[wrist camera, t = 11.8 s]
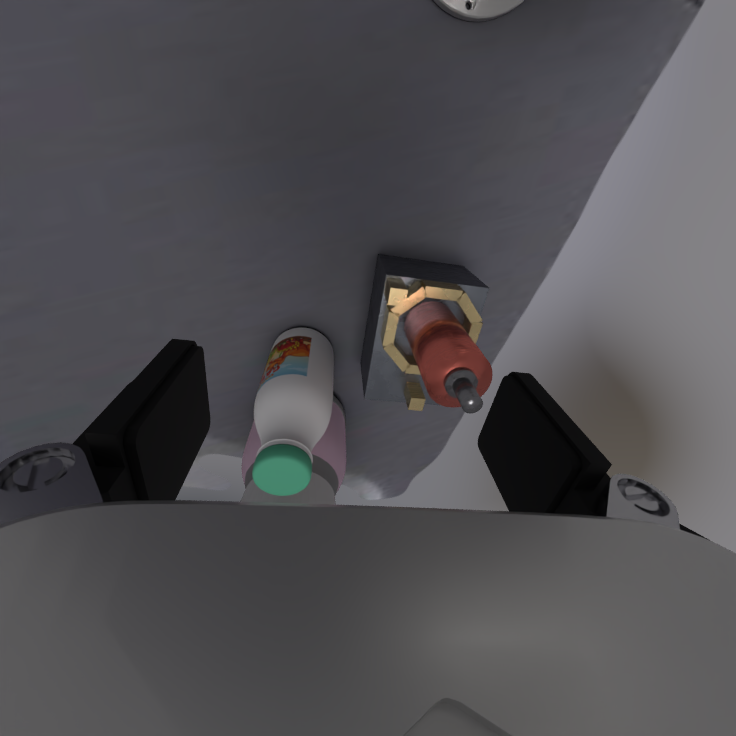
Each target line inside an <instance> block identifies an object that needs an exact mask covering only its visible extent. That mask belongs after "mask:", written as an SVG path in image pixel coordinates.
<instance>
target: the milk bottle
mask: <svg viewBox="0 0 736 736" xmlns="http://www.w3.org/2000/svg"><path fill="white" fill-rule="evenodd" d="M333 380H334V352H333V348H332V345H331V344H330V342H329V341H328V339H327V338H326V337H325V336H324V335H322V334H321V333H319V332H318V331H316V330H313V329H310V328H301V327H299V328H293V329H290V330H287V331H285V332H284V333H282V334H281V335H280V336H279V337H278V338H277V339H276V341H275V342H274V344H273V347H272V349H271V352H270V355H269V358H268V361H267V364H266V367H265V370H264V373H263V376H262V379H261V382H260V385H259V388H258V392H257V396H256V399H255V405H254V421H255V426H256V429H257V432H258V434H259V437H260V440H261V447H260V448H259V450H258V452H257V455H256V459H255V462H254V466H253V471H252V476H253V481H254V483H255V484H256V485H257V487H259V488H260V489H261V490H263V491H264V492H267V493H269V494H272V495H277V496H288V495H293V494H296V493H299V492H300V491H302V490H303V489H305V488H306V487H307V485H308V484H309V482H310V479H311V474H312V462H313V457H312V453H311V452H312V450H313V448H314V446H315V445H316V443H317V442H318V441H319V440H320V439H321V437H322V436H323V434H324V433H325V431H326V429H327V427H328V424H329V421H330V417H331V413H332V402H333Z"/></svg>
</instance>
